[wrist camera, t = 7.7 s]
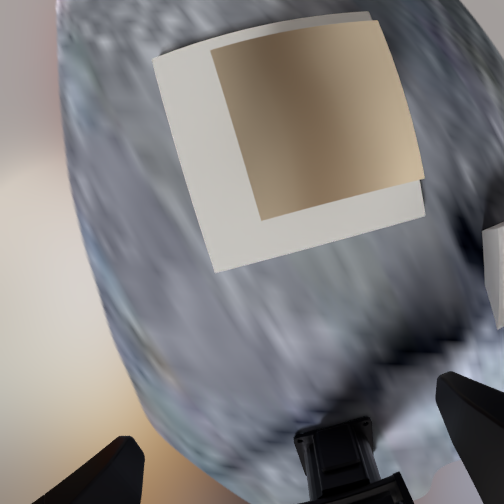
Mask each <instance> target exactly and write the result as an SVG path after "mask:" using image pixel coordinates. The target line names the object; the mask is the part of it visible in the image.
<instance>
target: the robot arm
mask: <svg viewBox="0 0 504 504" xmlns="http://www.w3.org/2000/svg"><path fill="white" fill-rule="evenodd" d="M436 403H437V406H438V408H439V411H440V413H441V415H442V418H443V420H444V423H445V425H446V428H447V430H448V433H449V435H450V438H451V440H452V443H453V445H454V447H455V449H456V451H457V453H458V454H459V456H460V458H461V460H462V462H463V464H464V466H465V468H466V469H467V471H468V473H469V475H470V477H471V479H472V481H473V483H474V485H475V487H476V489H477V491H478V493H479V495H480V497H481V499H482V501H483V503H484V504H504V392H501V391H499V390H496V389H494V388H491V387H489V386H486V385H484V384H482V383H479V382H477V381H474V380H472V379H469V378H467V377H464V376H462V375H459V374H457V373H455V372H452V371H449V372H447V373H444V374H442V375H440V376H439V377H438V378H437V386H436ZM299 439H301V440H299ZM294 444H295V447H296V449H297V452H298V455H299V458H300V461H301V464H302V467H303V470H304V472H305V475H306V476H307V481H308V488H309V496H310V501H308V502H304V503H299V504H414V502H413V500H412V498H411V495H410V493H409V491H408V489H407V487H406V485H405V482H404V480H403V478H402V476H401V474H400V472H396V473H394V474H393V475H392V476H389V477H386V478H384V479H381V477H380V474H379V471H378V468H377V465H376V462H375V459H374V456H373V437H372V422H371V419H370V417H363V418H359V419H356V420H353V421H349V422H346V423H342V424H338V425H335V426H331V427H327V428H323V429H319V430H315V431H311V432H307V433H302V434H298V435H296V436H294ZM144 462H145V456H144V453H143V451H142V450H141V449H140V447H139V446H138V444H137V443H136V441H135V440H134V438H133V437H131V436H119V437H117V438H116V439H115V440H113V441H112V442H111V443H110V444H109V445H107V446H106V447H105V448H104V449H102V450H101V451H100V452H99V453H97V454H96V455H95V456H94V457H93V458H91V459H90V460H89V461H87V462H86V463H85V464H84V465H82V466H81V467H80V468H79V469H77V470H76V471H75V472H74V473H72V474H71V475H69V476H68V477H67V478H66V479H64V480H63V481H62V482H60V483H59V484H58V485H56V486H55V487H54V488H52V489H51V490H50V491H49V492H47V493H46V494H45V495H43V496H42V497H40V498H39V499H37V500H36V501H35V502H33V503H32V504H140V502H141V495H142V484H143V473H144V472H143V471H144Z"/></svg>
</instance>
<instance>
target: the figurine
mask: <svg viewBox="0 0 504 504" xmlns="http://www.w3.org/2000/svg"><path fill="white" fill-rule="evenodd" d="M482 239H483V253H484V276H485V288H486V291H487V294H488V297H489V301H490V304H491V307H492V311H493V315H494V318H495V322H496V326H497V330H498V329H500V328H502V327H503V326H504V222H502V223H500V224H497V225H495V226H492V227H490V228H488V229H485V230H483V231H482Z"/></svg>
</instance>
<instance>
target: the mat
mask: <svg viewBox="0 0 504 504" xmlns="http://www.w3.org/2000/svg"><path fill="white" fill-rule="evenodd" d="M358 21H372V18H371V16H370V14H369V12H368V11H363V12H349V13H338V14H328V15H320V16H312V17H305V18H299V19H293V20H287V21H281V22H276V23H271V24H266V25H262V26H257V27H253V28H248V29H244V30H240V31H236V32H233V33H229V34H225V35H221V36H218V37H214V38H211V39H208V40H204V41H201V42H198V43H195V44H192V45H189V46H186V47H183V48H180V49H177V50H174V51H172V52H169V53H166V54H164V55H161V56H158V57H156V58H153V59H152V63H153V66H154V70H155V74H156V78H157V82H158V85H159V89H160V93H161V97H162V100H163V104H164V108H165V111H166V115H167V118H168V122H169V125H170V129H171V132H172V136H173V139H174V143H175V146H176V150H177V153H178V157H179V160H180V163H181V167H182V170H183V173H184V177H185V180H186V183H187V187H188V190H189V193H190V196H191V200H192V203H193V206H194V209H195V212H196V216H197V219H198V222H199V225H200V228H201V231H202V234H203V237H204V241H205V244H206V247H207V250H208V253H209V256H210V259H211V262H212V265H213V268H214V271H215V273H218V272H222V271H225V270H229V269H233V268H237V267H241V266H244V265H248V264H252V263H256V262H259V261H263V260H267V259H271V258H274V257H278V256H282V255H286V254H289V253H293V252H297V251H300V250H304V249H308V248H312V247H315V246H319V245H323V244H326V243H330V242H334V241H337V240H341V239H345V238H348V237H352V236H356V235H359V234H363V233H366V232H370V231H374V230H377V229H381V228H385V227H388V226H392V225H395V224H399V223H402V222H406V221H410V220H413V219H417V218H420V217H424V216H425V210H424V203H423V197H422V191H421V185H420V180H417V181H413V182H409V183H405V184H400V185H396V186H392V187H388V188H384V189H380V190H376V191H372V192H368V193H365V194H361V195H357V196H353V197H349V198H345V199H341V200H337V201H334V202H330V203H326V204H322V205H318V206H315V207H311V208H307V209H303V210H300V211H296V212H292V213H289V214H285V215H281V216H278V217H274V218H270V219H267V220H263V221H261V219H260V215H259V212H258V208H257V205H256V201H255V198H254V194H253V191H252V188H251V184H250V181H249V177H248V174H247V171H246V167H245V164H244V160H243V157H242V154H241V150H240V147H239V144H238V140H237V137H236V134H235V130H234V127H233V124H232V120H231V117H230V114H229V110H228V107H227V104H226V100H225V97H224V94H223V91H222V87H221V84H220V81H219V78H218V74H217V71H216V68H215V65H214V62H213V58H212V55H211V52H210V50H213V49H216V48H219V47H223V46H226V45H230V44H234V43H237V42H241V41H245V40H249V39H253V38H257V37H262V36H266V35H271V34H276V33H280V32H286V31H291V30H296V29H302V28H308V27H315V26H322V25H330V24H338V23H347V22H358Z"/></svg>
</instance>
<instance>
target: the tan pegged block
mask: <svg viewBox="0 0 504 504" xmlns="http://www.w3.org/2000/svg"><path fill="white" fill-rule="evenodd" d="M210 52H211V55H212V58H213V62H214V65H215V68H216V71H217V74H218V78H219V81H220V84H221V87H222V91H223V94H224V97H225V100H226V104H227V107H228V110H229V114H230V117H231V120H232V124H233V127H234V130H235V134H236V137H237V140H238V144H239V147H240V150H241V154H242V157H243V160H244V164H245V167H246V171H247V174H248V177H249V181H250V184H251V188H252V191H253V194H254V198H255V201H256V205H257V208H258V212H259V215H260V219H261V221H263V220H267V219H270V218H274V217H278V216H281V215H285V214H289V213H292V212H296V211H300V210H303V209H307V208H311V207H315V206H318V205H322V204H326V203H330V202H334V201H337V200H341V199H345V198H349V197H353V196H357V195H361V194H365V193H368V192H372V191H376V190H380V189H384V188H388V187H392V186H396V185H400V184H405V183H409V182H413V181H417V180H421V179H425V177H424V171H423V166H422V161H421V157H420V152H419V148H418V143H417V139H416V135H415V131H414V127H413V123H412V119H411V115H410V112H409V108H408V105H407V101H406V98H405V95H404V91H403V88H402V85H401V82H400V79H399V76H398V73H397V70H396V67H395V64H394V61H393V58H392V56H391V53H390V50H389V48H388V45H387V42H386V40H385V37H384V35H383V32H382V30H381V27H380V25H379V23H378V20H372V21H358V22H347V23H338V24H330V25H322V26H315V27H308V28H302V29H296V30H291V31H286V32H280V33H276V34H271V35H266V36H262V37H257V38H253V39H249V40H245V41H241V42H237V43H234V44H230V45H226V46H223V47H219V48H216V49H213V50H210Z"/></svg>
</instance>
